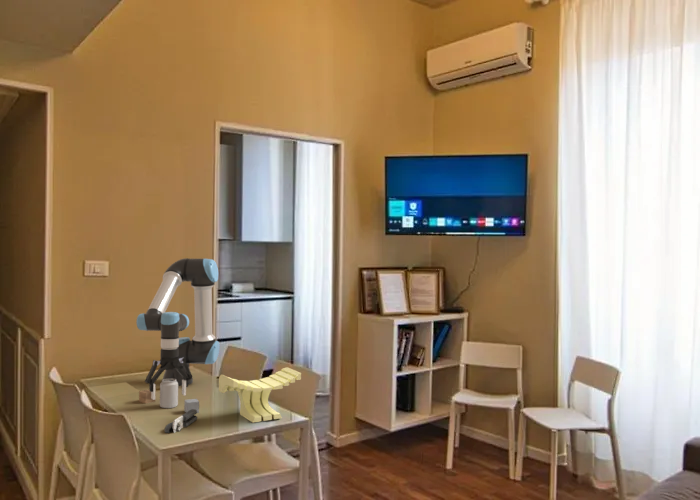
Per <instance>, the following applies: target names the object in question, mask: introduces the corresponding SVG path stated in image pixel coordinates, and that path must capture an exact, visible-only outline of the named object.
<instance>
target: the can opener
mask: <svg viewBox="0 0 700 500" xmlns="http://www.w3.org/2000/svg"><path fill="white" fill-rule="evenodd" d="M197 414H198V413H197V410H196V409H191V410H190V411H188V412H184V413H183V414H182V415H180V416H178V417H176V418H175V419H173V421H170V422H169V423H168V424H166V425H165V427H164V433H166V434H170V433H172V432H173V433H174V434H175V433H176V432H178V433H179V432H181V431H182V430H181V429H183V428H187V427H189V426H190V425H191V424H193V423H194V422H195V421H197V419H198V415H197Z"/></svg>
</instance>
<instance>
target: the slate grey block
mask: <svg viewBox="0 0 700 500" xmlns="http://www.w3.org/2000/svg"><path fill="white" fill-rule="evenodd" d="M183 404H184V406H183V407H184V409H183V410H184V411H183V412H184V413H186V412H188V411H190V410H191V409H196V410H197V413H196V414H199V413H200V401H199V399H198V398H191V399H189V398H188V399H184V403H183Z"/></svg>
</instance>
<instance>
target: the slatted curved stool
mask: <svg viewBox="0 0 700 500" xmlns="http://www.w3.org/2000/svg"><path fill="white" fill-rule="evenodd" d="M298 380H299V381H300V380H302V372H299V371H297V370H295V369H292V368H290V367H288V366H287V367H284V368H281V369H280V370H279V371H275V373H273V374H270V375H269V376H267V377H262V378H259V379H253V380H240V379H239V380H238V379H236V378H232V377H229V376H226V375H224V374H220V375H219V378H218V392H220V393H222V394H224V393H227V392H228V391H229V392H235V391H236V392H237V395H238V398H239V402H240V407H239V414H240V416H241V417H243V418H245V419H246V420H248V421H249V422H250V423H258V422H265V421H271V420H272V421H273V420H277V419H283V417H282V415H281V413H280V412H278V411H276V410H275V409H273V408H272V407H271V406H270V404H269V397H270V394H271V392H272V391H273V390H282V389H284V387H286V386H287V387H288V386H290V384H294V383H296V381H298ZM283 386H284V387H283Z"/></svg>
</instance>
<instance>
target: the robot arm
mask: <svg viewBox="0 0 700 500" xmlns="http://www.w3.org/2000/svg"><path fill="white" fill-rule="evenodd" d="M218 280H219V269H218V264H217V262H216V261H215V260H214V259H212V258H186V257H185V258H180V259H178V260H176V261H174V262H173V263H171V265H169V266H168V267H167V269H166V270H165V271H164V272H163V275H162V281H161V283H160V286H159V287H158V289H157V290H156V294H155V295H154V297H153V299H152V300H151V303H150V305H149V307H148V309H147V310H146V312H143V313H140V314H138V315H137V317H136V326H137V329H138V330H139V331H147V332H148V331H150V332H152V331H153V332H155V331H157V332H160V356H159V357H160V360H156V359H153V360H152V365H151V368H150V369H149V372H148V374H147V375H146V378H145V380H144V383H145V384H147V385H148V384H149V385H148V386H149V391H150V392H151V399H153V400H155V401H156V397H155V391H156V384H155V383H156V381H157V379H159V378H160V376H161V375H162V374H163V375H162V378H161V381H162V380H163V379H169V378H172V379H176V381H177V382H178V387H179V386H181V394H182V395H183V397H184V396H186V395H187V388H188V387H189V385H191V384H193V382H194V381H193V380H194V379H193V378H194V377H193V374H192V372H191V368H190V365H191V364H192V365H193V364H196V365H197V364H199V365H214V364H215V363H216V362H217V360H218V358H219V354H220V347H221V346H220V342H219V341H218V340H217V339H216V336H215V335H214V334H213V295H212V294H213V288H214V287H215V283H217V282H218ZM184 282H189V283H190V286H191V288H193V290H194V291H193V293H194V294H193V295H194V297H193V298H194V333H195V334H194V336H193V337H192V339H191V338H190V337H189V336H187V337H186V336H185V337H180V332H182V331H184V330H186V329H187V328H188V327H189V325H190V319H189V316H188V315H187V314H185V313H178V311H177V312H175V311H167V309H168V307H169V305H170V303H171V300H172V298H173V297H174V295H175V293H176V291H177V289H178V287H179V286H181V285H182V283H184ZM166 311H167V312H166ZM159 365H160V366H159ZM158 366H159V368H158V369H157V367H158ZM156 370H157V371H156ZM155 371H156V372H155ZM163 372H164V373H163Z"/></svg>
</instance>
